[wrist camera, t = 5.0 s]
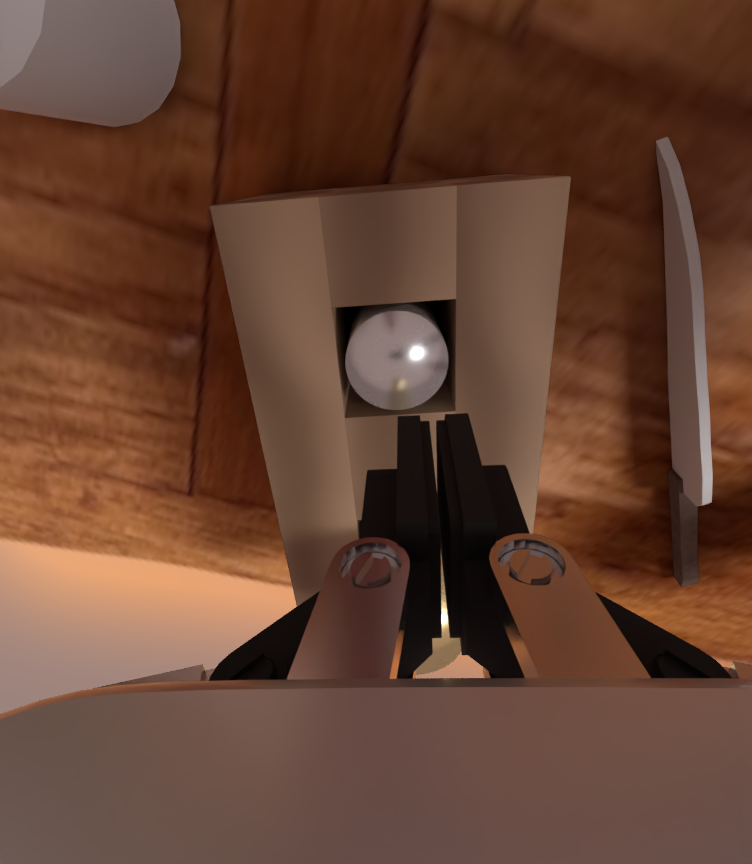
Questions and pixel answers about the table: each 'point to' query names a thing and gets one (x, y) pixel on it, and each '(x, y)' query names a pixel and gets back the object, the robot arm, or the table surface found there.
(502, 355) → the socket block
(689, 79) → the table surface
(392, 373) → the steel peg
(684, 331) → the kitchen knife
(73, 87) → the can
